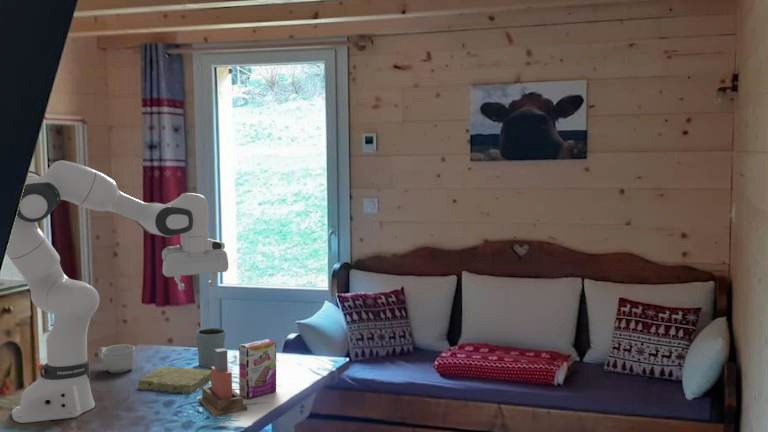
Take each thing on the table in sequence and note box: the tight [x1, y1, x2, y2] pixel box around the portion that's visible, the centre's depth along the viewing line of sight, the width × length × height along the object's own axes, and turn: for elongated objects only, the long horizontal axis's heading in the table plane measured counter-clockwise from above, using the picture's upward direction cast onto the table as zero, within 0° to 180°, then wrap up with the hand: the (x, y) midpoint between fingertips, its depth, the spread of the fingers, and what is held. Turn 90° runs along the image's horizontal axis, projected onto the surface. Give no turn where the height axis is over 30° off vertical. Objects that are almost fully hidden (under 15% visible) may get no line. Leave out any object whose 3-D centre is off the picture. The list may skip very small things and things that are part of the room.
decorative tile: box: [137, 366, 211, 394], centre depth 252 cm, size 19×20×4 cm
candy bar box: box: [238, 338, 277, 400], centre depth 239 cm, size 11×5×16 cm, turn 134°
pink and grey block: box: [210, 347, 233, 400], centre depth 229 cm, size 4×9×16 cm, turn 30°
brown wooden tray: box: [197, 385, 248, 417], centre depth 229 cm, size 10×16×4 cm, turn 30°
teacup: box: [97, 343, 136, 374], centre depth 267 cm, size 14×11×8 cm
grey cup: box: [196, 327, 226, 368], centre depth 273 cm, size 10×10×12 cm
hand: (196, 288), depth 240 cm, fingers open, 8 cm apart
